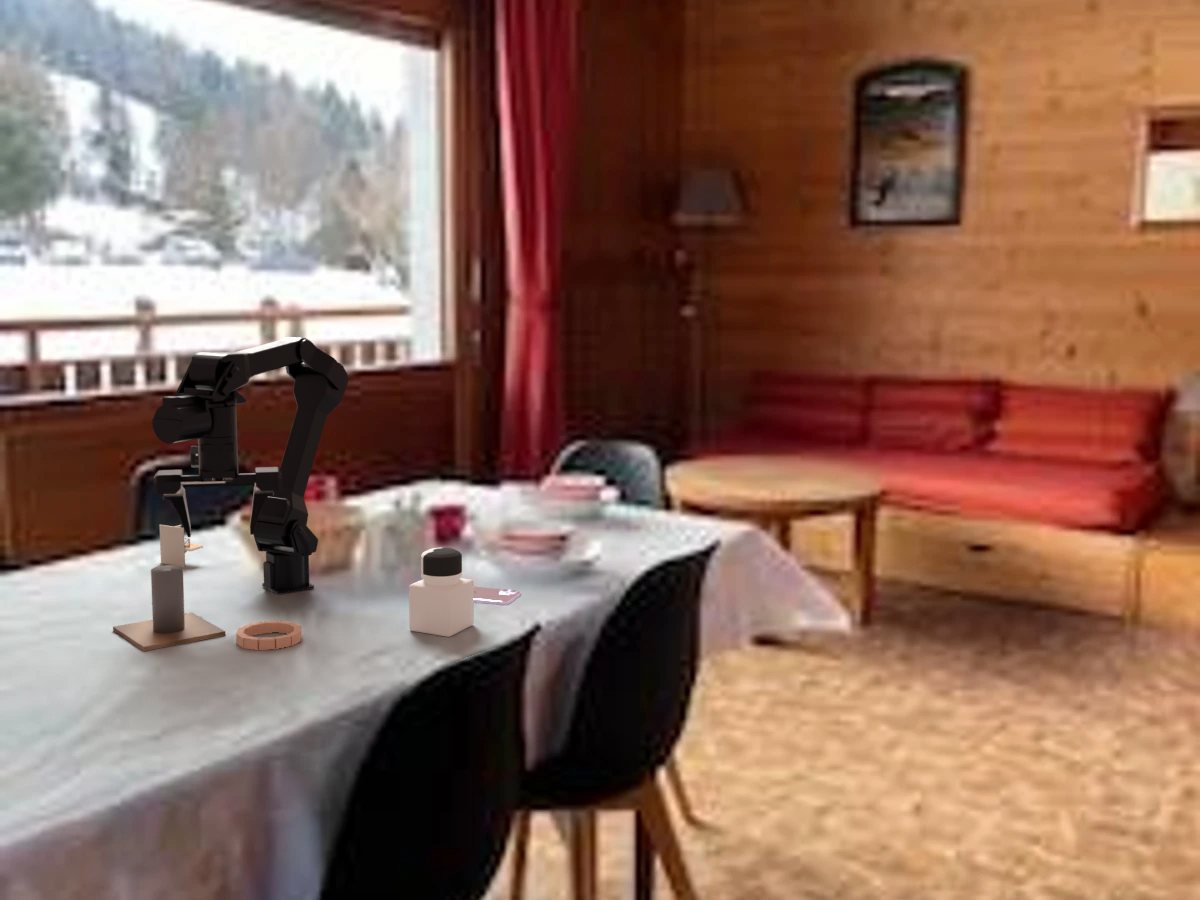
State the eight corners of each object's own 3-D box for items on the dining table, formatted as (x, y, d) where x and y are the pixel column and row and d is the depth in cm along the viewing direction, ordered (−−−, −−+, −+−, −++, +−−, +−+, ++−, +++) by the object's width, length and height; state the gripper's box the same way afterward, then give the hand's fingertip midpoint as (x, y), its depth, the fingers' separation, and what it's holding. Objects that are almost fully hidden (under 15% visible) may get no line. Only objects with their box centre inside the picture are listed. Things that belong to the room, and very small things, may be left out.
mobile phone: (439, 581, 215) (523, 589, 211) (439, 587, 215) (523, 595, 211) (420, 593, 208) (507, 601, 204) (420, 598, 208) (507, 607, 204)
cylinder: (177, 622, 190) (175, 563, 188) (189, 629, 186) (187, 570, 185) (148, 627, 187) (146, 568, 185) (160, 635, 184) (158, 574, 182)
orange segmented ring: (283, 627, 190) (283, 617, 190) (312, 641, 184) (312, 631, 183) (226, 638, 185) (226, 628, 184) (254, 654, 178) (253, 643, 178)
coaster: (192, 616, 195) (192, 612, 195) (225, 635, 186) (225, 631, 186) (113, 630, 187) (113, 626, 187) (143, 651, 178) (143, 646, 178)
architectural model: (174, 561, 230) (172, 521, 229) (203, 566, 227) (202, 525, 226) (160, 565, 227) (158, 524, 226) (189, 570, 224) (188, 529, 223)
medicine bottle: (474, 625, 193) (474, 547, 191) (449, 637, 187) (449, 558, 185) (434, 618, 196) (433, 542, 194) (408, 631, 190) (407, 552, 188)
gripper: (279, 426, 204) (281, 521, 206) (156, 429, 199) (160, 526, 202) (281, 436, 193) (283, 537, 196) (151, 439, 188) (155, 542, 191)
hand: (220, 535), depth 196 cm, fingers open, 9 cm apart
